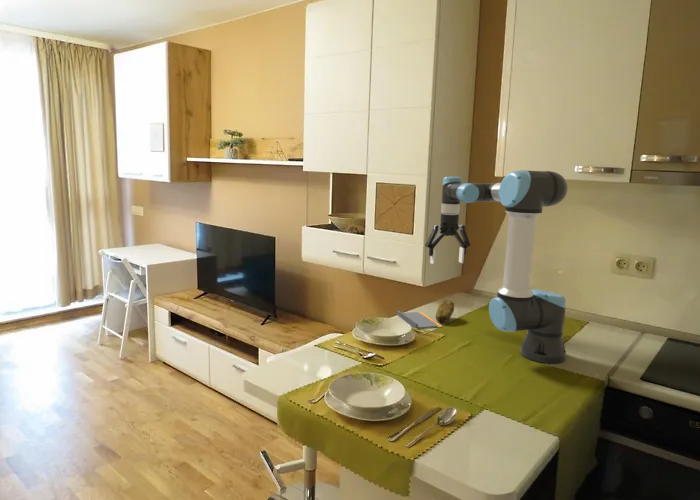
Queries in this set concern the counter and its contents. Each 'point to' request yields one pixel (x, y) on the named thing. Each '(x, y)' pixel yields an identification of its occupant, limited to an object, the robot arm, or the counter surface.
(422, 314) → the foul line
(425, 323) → the mat
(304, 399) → the counter surface
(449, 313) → the potato
